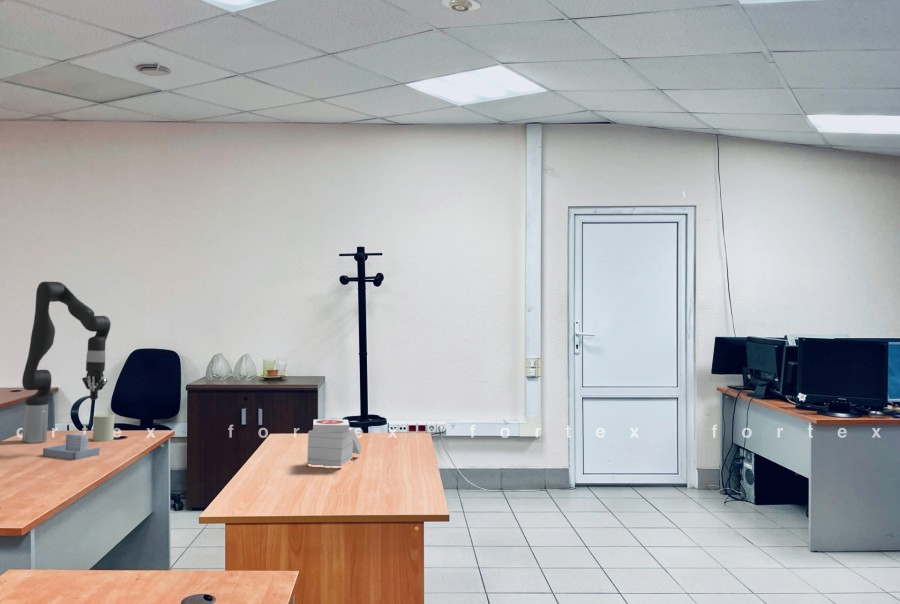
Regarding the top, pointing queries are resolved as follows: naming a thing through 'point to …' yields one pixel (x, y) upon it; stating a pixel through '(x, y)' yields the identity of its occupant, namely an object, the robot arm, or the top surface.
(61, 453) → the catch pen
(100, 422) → the can
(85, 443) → the medicine box
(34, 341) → the robot arm
